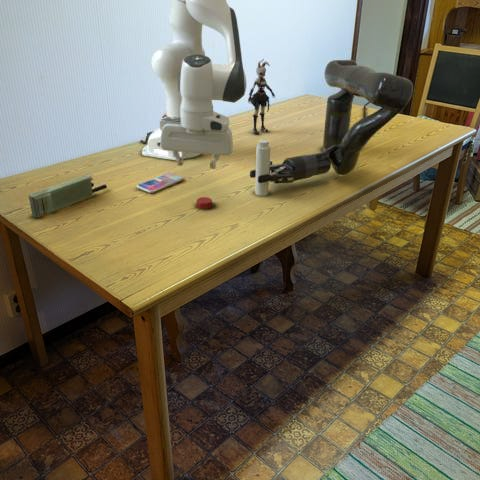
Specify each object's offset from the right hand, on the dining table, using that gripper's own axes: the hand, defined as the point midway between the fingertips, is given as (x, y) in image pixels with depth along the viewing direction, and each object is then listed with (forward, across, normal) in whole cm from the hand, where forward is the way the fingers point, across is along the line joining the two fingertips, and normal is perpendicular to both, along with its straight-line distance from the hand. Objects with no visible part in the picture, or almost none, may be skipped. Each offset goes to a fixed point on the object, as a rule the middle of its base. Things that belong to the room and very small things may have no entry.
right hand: (254, 177), depth 155 cm
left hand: (+19, -1, -6) cm, 20 cm away
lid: (+17, 0, +4) cm, 18 cm away
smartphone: (+23, -21, +6) cm, 32 cm away
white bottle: (-3, 0, +6) cm, 7 cm away
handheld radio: (+51, -20, +6) cm, 55 cm away
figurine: (-34, -54, +6) cm, 65 cm away
